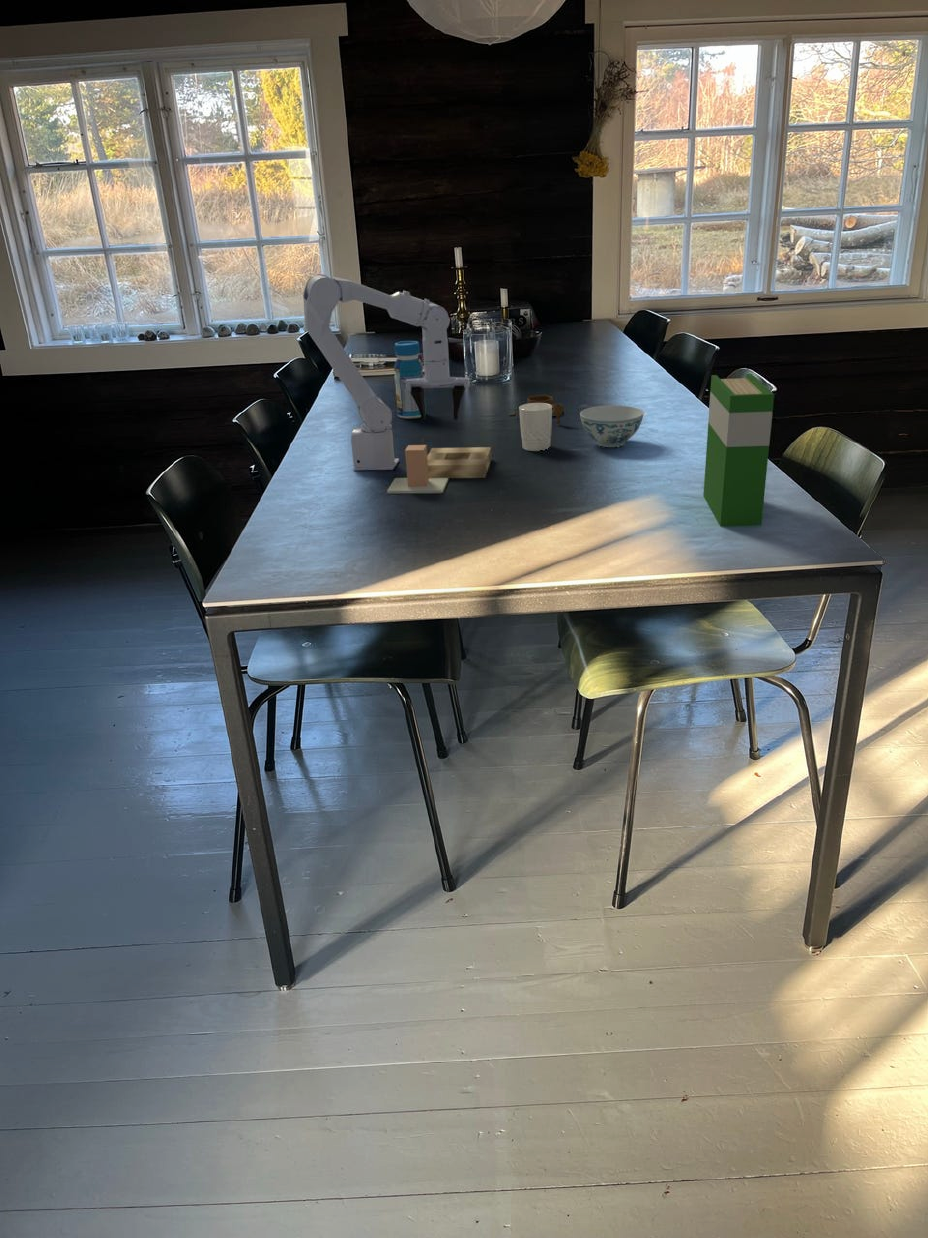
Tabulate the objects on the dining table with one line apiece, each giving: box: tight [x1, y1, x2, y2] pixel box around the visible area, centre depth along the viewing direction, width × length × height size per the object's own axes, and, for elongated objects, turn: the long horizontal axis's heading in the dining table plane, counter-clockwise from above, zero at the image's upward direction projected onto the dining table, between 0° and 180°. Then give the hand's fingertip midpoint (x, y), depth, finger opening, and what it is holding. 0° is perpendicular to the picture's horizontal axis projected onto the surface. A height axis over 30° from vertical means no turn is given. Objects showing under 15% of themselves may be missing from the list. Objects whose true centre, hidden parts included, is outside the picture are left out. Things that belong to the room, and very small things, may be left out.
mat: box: [386, 477, 449, 494], centre depth 199 cm, size 12×9×1 cm
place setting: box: [508, 394, 564, 425], centre depth 249 cm, size 18×20×6 cm
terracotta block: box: [404, 444, 429, 487], centre depth 197 cm, size 4×4×8 cm
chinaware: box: [579, 405, 645, 448], centre depth 220 cm, size 15×15×8 cm
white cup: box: [518, 403, 553, 452], centre depth 220 cm, size 8×8×10 cm
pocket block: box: [427, 446, 492, 479], centre depth 209 cm, size 14×14×3 cm
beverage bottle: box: [393, 340, 427, 419], centre depth 254 cm, size 8×8×20 cm
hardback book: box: [703, 373, 775, 527], centre depth 171 cm, size 18×7×24 cm, turn 177°
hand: (439, 418), depth 214 cm, fingers open, 7 cm apart
